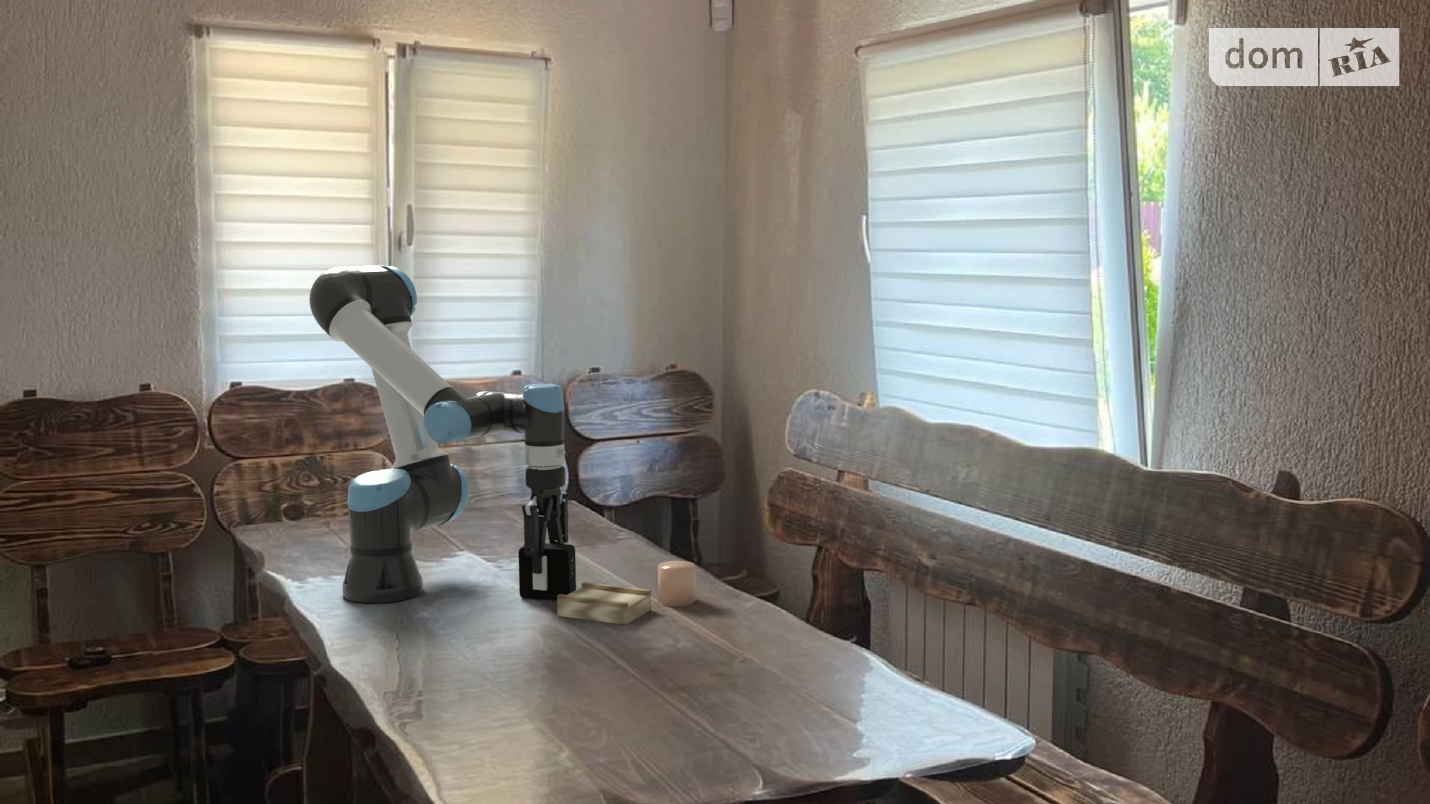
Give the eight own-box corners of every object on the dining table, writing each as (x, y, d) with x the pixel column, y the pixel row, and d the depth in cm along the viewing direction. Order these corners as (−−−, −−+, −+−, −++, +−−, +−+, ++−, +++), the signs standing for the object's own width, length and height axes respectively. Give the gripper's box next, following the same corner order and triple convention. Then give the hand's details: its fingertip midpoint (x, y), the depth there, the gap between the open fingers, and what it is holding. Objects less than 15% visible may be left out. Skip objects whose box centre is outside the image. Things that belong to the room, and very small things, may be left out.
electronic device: (569, 601, 247) (568, 549, 246) (519, 598, 249) (518, 547, 248) (576, 595, 251) (575, 544, 250) (526, 592, 253) (525, 542, 252)
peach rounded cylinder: (652, 604, 245) (651, 567, 244) (668, 594, 252) (667, 559, 251) (685, 608, 243) (685, 571, 242) (701, 598, 249) (701, 562, 248)
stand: (557, 615, 238) (557, 595, 238) (584, 601, 247) (584, 581, 247) (625, 624, 232) (625, 604, 232) (650, 609, 242) (650, 589, 241)
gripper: (537, 475, 237) (540, 600, 240) (585, 459, 254) (587, 576, 257) (502, 472, 240) (505, 595, 243) (552, 457, 257) (554, 572, 260)
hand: (547, 585), depth 250 cm, fingers closed on electronic device, 5 cm apart
